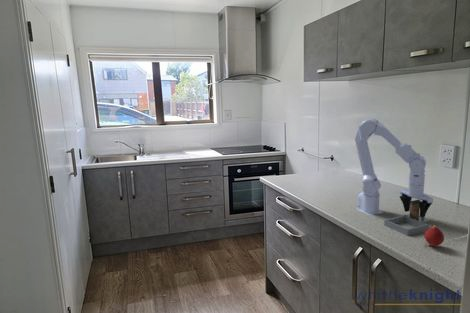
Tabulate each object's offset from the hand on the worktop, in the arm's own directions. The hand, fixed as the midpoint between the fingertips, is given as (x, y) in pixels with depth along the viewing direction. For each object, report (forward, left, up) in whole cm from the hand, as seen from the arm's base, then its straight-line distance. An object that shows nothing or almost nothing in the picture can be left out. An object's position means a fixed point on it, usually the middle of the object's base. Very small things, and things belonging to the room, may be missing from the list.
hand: (414, 214), depth 135 cm
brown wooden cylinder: (0, 0, -2) cm, 2 cm away
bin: (+6, -12, -2) cm, 14 cm away
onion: (+21, -16, -3) cm, 27 cm away
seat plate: (0, 0, -2) cm, 2 cm away
